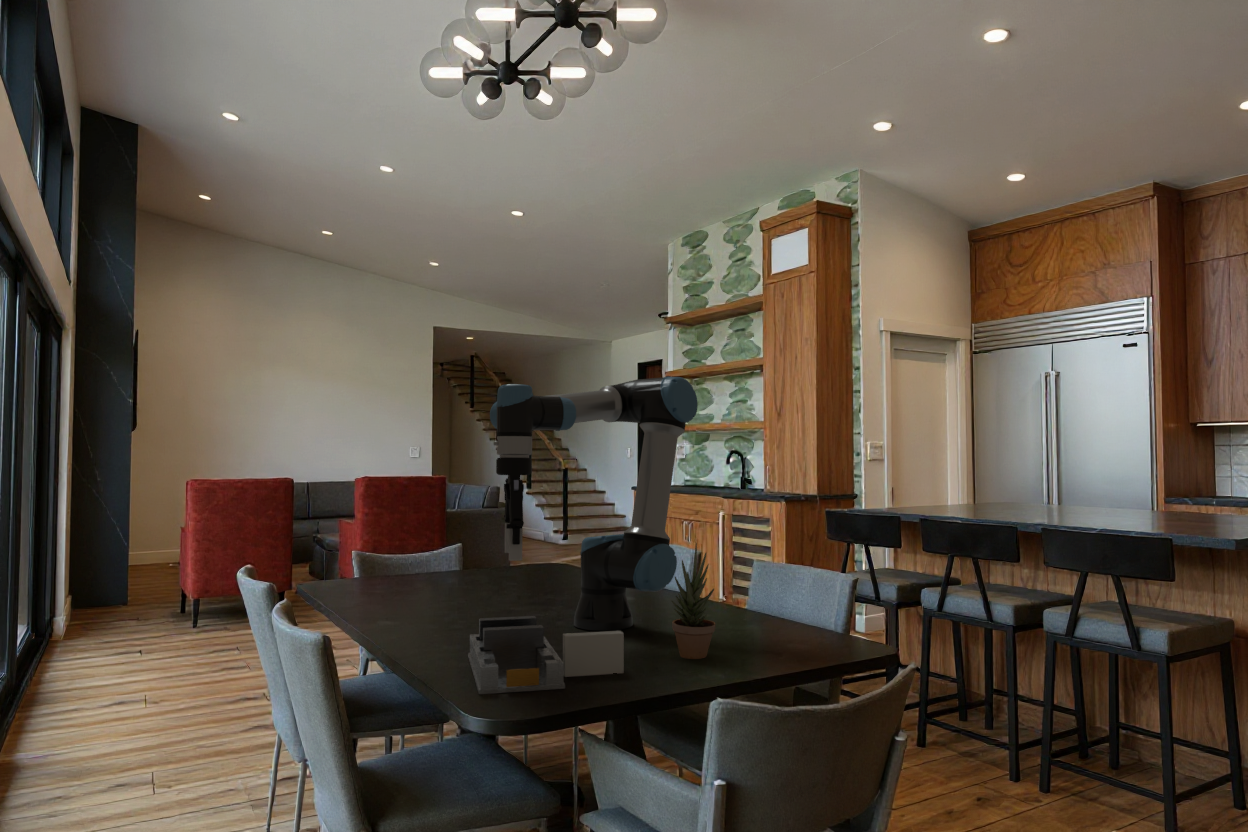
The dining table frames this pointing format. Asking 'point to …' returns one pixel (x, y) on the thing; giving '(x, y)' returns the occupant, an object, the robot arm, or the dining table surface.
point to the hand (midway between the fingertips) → (513, 556)
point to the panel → (593, 653)
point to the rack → (513, 657)
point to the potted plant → (693, 615)
